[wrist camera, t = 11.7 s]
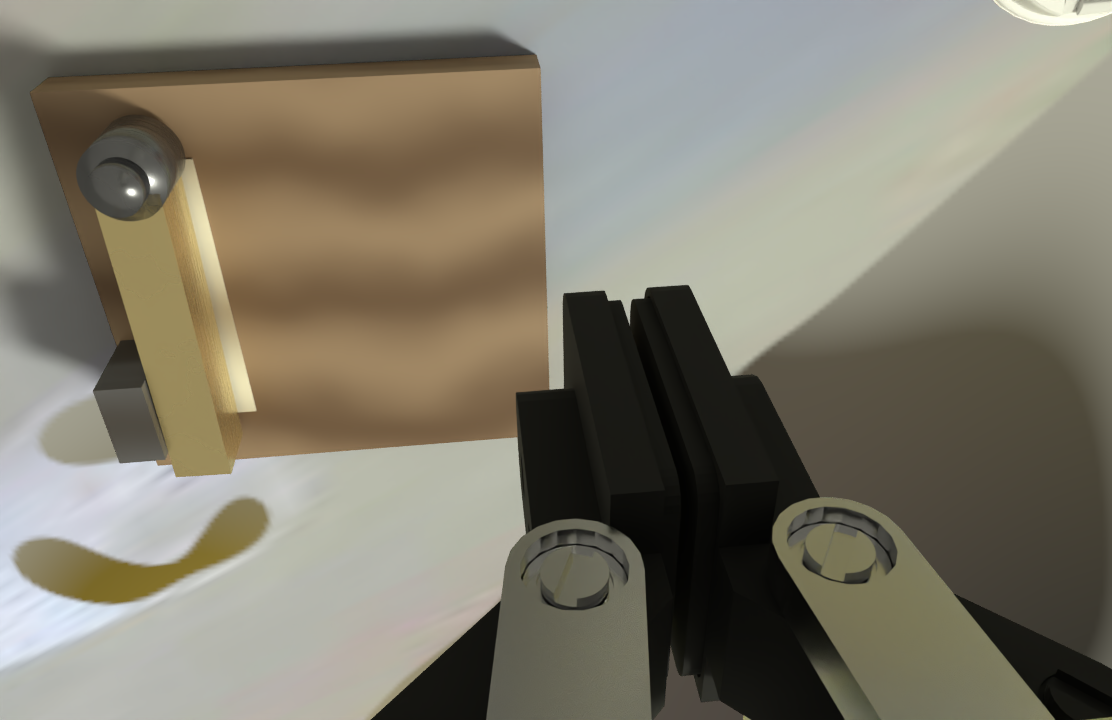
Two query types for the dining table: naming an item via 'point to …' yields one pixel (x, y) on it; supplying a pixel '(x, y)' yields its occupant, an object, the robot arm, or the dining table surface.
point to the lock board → (339, 245)
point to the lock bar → (164, 288)
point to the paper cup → (1056, 10)
